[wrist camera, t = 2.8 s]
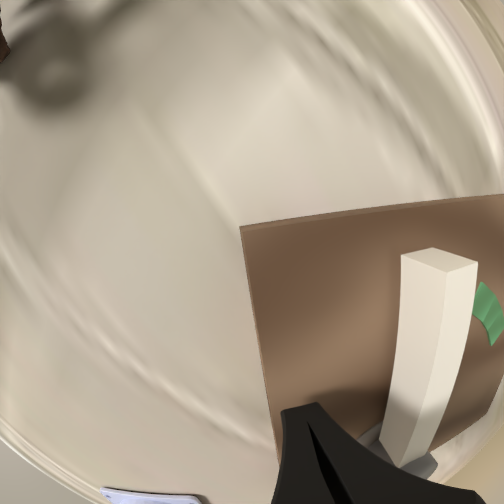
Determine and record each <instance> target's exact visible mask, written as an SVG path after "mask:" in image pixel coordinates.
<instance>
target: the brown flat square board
mask: <svg viewBox="0 0 504 504" xmlns="http://www.w3.org/2000/svg"><path fill="white" fill-rule="evenodd" d="M239 227H240V233H241V240H242V246H243V252H244V259H245V265H246V271H247V277H248V284H249V290H250V296H251V302H252V308H253V315H254V321H255V327H256V333H257V339H258V345H259V351H260V357H261V363H262V369H263V375H264V381H265V387H266V393H267V398H268V404H269V410H270V416H271V422H272V427H273V433H274V439H275V445H276V450H277V456H278V462H279V467H280V463H281V456H282V444H283V429H282V422H281V415H280V412H281V411H282V410H284V409H288V408H293V407H297V406H302V405H306V404H310V403H314V402H318V403H319V404H320V405H321V406H322V407H323V409H324V410H325V411H326V412H327V413H328V414H329V415H330V416H331V417H332V418H333V419H334V420H335V421H336V422H337V423H338V424H339V425H340V426H341V427H342V428H343V429H344V430H345V431H346V432H347V433H348V434H350V435H351V436H352V437H353V438H354V439H355V440H357V441H358V442H359V443H360V444H362V445H363V446H364V447H366V448H368V447H369V446H370V445H371V444H373V443H374V442H375V441H377V440H378V439H379V437H380V433H381V429H382V425H383V420H384V416H385V411H386V407H387V402H388V397H389V392H390V386H391V380H392V374H393V367H394V360H395V353H396V344H397V335H398V324H399V310H400V290H401V255H402V254H406V253H411V252H415V251H420V250H424V249H428V248H432V247H433V248H436V249H439V250H443V251H446V252H449V253H452V254H455V255H458V256H461V257H464V258H468V259H471V260H474V261H477V262H478V269H477V279H476V288H475V296H474V303H473V309H472V315H471V321H470V326H469V331H468V336H467V340H466V344H465V349H464V353H463V356H462V360H461V364H460V367H459V371H458V374H457V377H456V381H455V384H454V387H453V390H452V393H451V396H450V398H449V401H448V404H447V406H446V409H445V412H444V414H443V417H442V419H441V421H440V424H439V426H438V428H437V431H436V433H435V435H434V437H433V440H432V442H431V444H430V446H429V448H428V451H429V452H431V451H432V450H434V449H436V448H437V447H439V446H441V445H442V444H444V443H446V442H447V441H449V440H450V439H452V438H453V437H455V436H456V435H458V434H459V433H461V432H462V431H464V430H465V429H467V428H468V427H469V426H471V425H472V424H473V423H475V422H476V421H477V420H479V419H480V418H481V417H483V416H484V415H485V414H486V413H487V411H488V409H489V407H490V405H491V403H492V401H493V398H494V396H495V394H496V392H497V389H498V387H499V384H500V382H501V380H502V377H503V374H504V194H497V195H485V196H473V197H462V198H452V199H442V200H432V201H423V202H414V203H405V204H396V205H388V206H380V207H371V208H363V209H356V210H348V211H341V212H333V213H326V214H319V215H312V216H305V217H298V218H291V219H284V220H277V221H271V222H264V223H258V224H252V225H245V226H239Z"/></svg>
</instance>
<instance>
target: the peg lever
mask: <svg viewBox="0 0 504 504" xmlns="http://www.w3.org/2000/svg"><path fill="white" fill-rule="evenodd" d="M477 269H478V262H477V261H474V260H471V259H468V258H464V257H461V256H458V255H455V254H452V253H449V252H446V251H443V250H439V249H436V248H433V247H432V248H428V249H424V250H420V251H415V252H411V253H406V254H402V255H401V290H400V310H399V324H398V335H397V344H396V353H395V360H394V367H393V374H392V380H391V386H390V392H389V397H388V402H387V407H386V411H385V416H384V420H383V425H382V429H381V433H380V437H379V439H378V440H377V441H375V442H374V443H373V444H371V445H370V446H369V447H368V448H367V449H368V450H370V451H371V452H373V453H374V454H376V455H377V456H379V457H380V458H382V459H383V460H385V461H387V462H389V463H390V464H392V465H394V466H396V467H398V468H400V469H402V470H404V471H406V472H408V473H410V474H413V475H415V476H418V477H421V478H423V479H428V478H429V477H430V476H431V475H432V473H433V472H434V471H435V470H436V468H437V466H438V463H437V462H436V460H435V459H434V458H433V456H432V455H431V454H430V452H429V451H428V448H429V446H430V444H431V442H432V440H433V437H434V435H435V433H436V431H437V428H438V426H439V424H440V421H441V419H442V417H443V414H444V412H445V409H446V406H447V404H448V401H449V398H450V396H451V393H452V390H453V387H454V384H455V381H456V377H457V374H458V371H459V367H460V364H461V360H462V356H463V353H464V349H465V344H466V340H467V336H468V331H469V326H470V321H471V315H472V309H473V303H474V296H475V288H476V279H477Z"/></svg>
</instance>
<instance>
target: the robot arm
mask: <svg viewBox="0 0 504 504" xmlns="http://www.w3.org/2000/svg"><path fill="white" fill-rule="evenodd" d="M280 415H281V422H282V429H283V444H282V456H281V463H280V469H279V474H278V479H277V484H276V488H275V492H274V495H273V499H272V502H271V504H486V503H485V502H484V500H483V499H482V498H481V497H480V496H479V495H478V494H477V493H476V492H475V491H473V490H467V489H460V488H455V487H450V486H445V485H442V484H438V483H435V482H431V481H429V480H426V479H423V478H421V477H418V476H415V475H413V474H410V473H408V472H406V471H404V470H402V469H400V468H398V467H396V466H394V465H392V464H390V463H389V462H387V461H385V460H383V459H382V458H380V457H379V456H377V455H376V454H374V453H373V452H371V451H370V450H368V449H367V448H366V447H364V446H363V445H362V444H360V443H359V442H358V441H357V440H355V439H354V438H353V437H352V436H351V435H350V434H348V433H347V432H346V431H345V430H344V429H343V428H342V427H341V426H340V425H339V424H338V423H337V422H336V421H335V420H334V419H333V418H332V417H331V416H330V415H329V414H328V413H327V412H326V411H325V410H324V409H323V407H322V406H321V405H320V404H319V403H318V402H314V403H310V404H306V405H302V406H297V407H293V408H288V409H284V410H282V411H281V412H280ZM100 492H101V494H103V495H104V496H105V497H106V498H107V499H108V500H109V501H110V502H111V503H112V504H202V503H201V502H200V501H199V499H198V498H197V497H195V496H189V495H159V494H146V493H136V492H128V491H121V490H114V489H108V488H100Z"/></svg>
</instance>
